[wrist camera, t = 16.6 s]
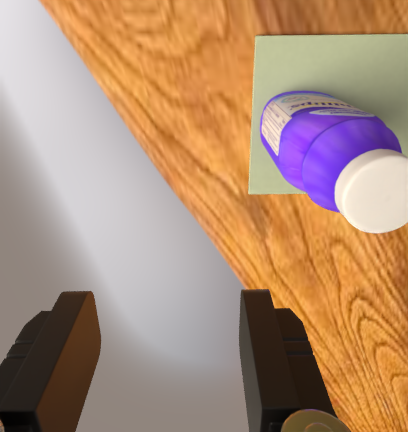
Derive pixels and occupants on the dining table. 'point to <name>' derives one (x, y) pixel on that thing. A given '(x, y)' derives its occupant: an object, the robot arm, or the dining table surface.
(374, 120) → the bottle
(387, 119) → the mat
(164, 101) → the dining table surface
